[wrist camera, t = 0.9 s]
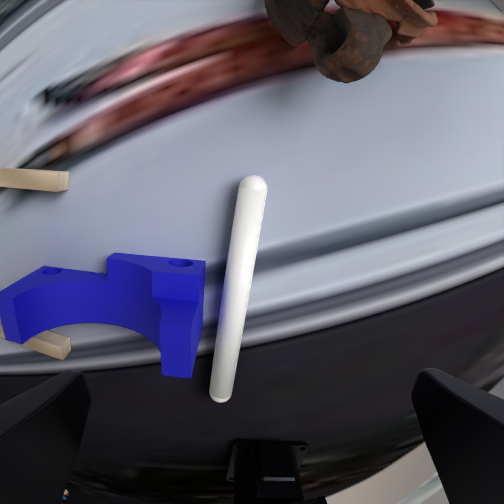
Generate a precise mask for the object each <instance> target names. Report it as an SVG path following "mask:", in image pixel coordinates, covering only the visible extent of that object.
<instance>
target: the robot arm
mask: <svg viewBox="0 0 504 504" xmlns="http://www.w3.org/2000/svg"><path fill="white" fill-rule="evenodd" d="M411 398H412V402H413V405H414V408H415V411H416V415H417V418H418V421H419V424H420V427H421V431H422V434H423V437H424V440H425V443H426V445H427V448H428V450H429V452H430V455H431V457H432V460H433V463H434V465H435V467H436V470H437V472H438V475H439V477H440V480H441V483H442V485H443V488H444V490H445V493H446V496H447V498H448V501H449V504H504V400H503V399H501V398H499V397H497V396H495V395H492V394H490V393H488V392H486V391H483V390H481V389H479V388H477V387H475V386H472V385H470V384H468V383H466V382H464V381H462V380H459V379H457V378H455V377H453V376H451V375H449V374H447V373H444V372H442V371H440V370H438V369H436V368H427V369H423V370H421V371H420V372H419V374H418V377H417V379H416V382H415V385H414V388H413V390H412V395H411ZM90 403H91V396H90V392H89V389H88V386H87V383H86V380H85V377H84V375H83V373H82V372H80V371H74V370H67V371H65V372H63V373H61V374H59V375H57V376H55V377H53V378H51V379H49V380H48V381H46V382H44V383H42V384H40V385H38V386H36V387H34V388H32V389H30V390H28V391H27V392H25V393H23V394H21V395H19V396H17V397H15V398H13V399H11V400H9V401H7V402H5V403H3V404H1V405H0V504H61V501H62V498H63V495H64V492H65V489H66V486H67V482H68V479H69V476H70V473H71V470H72V468H73V465H74V462H75V459H76V456H77V453H78V450H79V447H80V443H81V439H82V435H83V431H84V427H85V423H86V419H87V415H88V411H89V407H90ZM239 444H240V445H239ZM307 451H308V444H307V443H305V442H273V441H256V440H243V439H237V440H235V441H234V443H233V448H232V452H231V457H230V461H229V466H228V470H227V475H226V479H227V480H228V481H234V504H327V502H326V499H325V496H321V497H317V498H315V499H309V500H304V495H303V490H302V485H301V479H300V474H299V468H300V465H301V463H302V461H303V459H304V457H305V455H306V453H307Z"/></svg>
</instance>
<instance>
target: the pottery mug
mask: <svg viewBox="0 0 504 504" xmlns="http://www.w3.org/2000/svg"><path fill="white" fill-rule="evenodd" d="M335 2H336V4H337V5H338V6H340V7H341V9H339V10H337V11H336V14H335V15H334V14H330V13H328V12H324V8H325V7H326V5H327V4H328V3H329V0H265V8H266V11H267V15H268V17H269V18H270V20H271V22H272V25H273V26H274V28H275V29H276V31H277V32H278V33H279V34H280V35H281V36H282V37H283V38H284V39H285V40H286V41H287V42H288V43H289V44H290V45H291V46H292V47H297V46H298V45H299V44H300V43H303V42H305V41H307V40H308V46H309V48H310V50H311V51H312V55H313V61H314V64H315V65H316V67H317V68H318V70H319V71H320V73H321V74H322V75H324V76H326V77H327V78H329V79H331V80H334V81H337V82H343V83H350V82H353V81H357V80H360V79H362V78H364V77H365V76H367V75H368V74H370V73H371V72H372V71H373V70H374V69H375V67H376V66H377V65H378V63H379V61H380V59H381V56H382V52H383V47H384V46H385V44H386V43H387V42H388V40H389V39H390V38H391V36H392V29H391V27H390V25H389V24H388V23H387V21H386V20H392V21H395V22H396V27H395V31H396V32H397V33H396V34H397V36H398V40H399V42H400V43H401V44H402V45H404V44H407V43H410V42H411V41H412V40H413V39H415V38H416V37H417V36H421V35H422V34H423V28H425V27H428V26H430V27H433V26H436V24H437V23H438V19H437V17H436V14H435V12H433V11H429V12H426V11H424V9H427V8H431V7H433V6H434V1H433V0H335Z"/></svg>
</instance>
